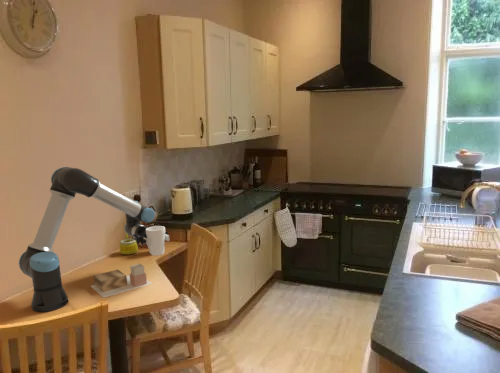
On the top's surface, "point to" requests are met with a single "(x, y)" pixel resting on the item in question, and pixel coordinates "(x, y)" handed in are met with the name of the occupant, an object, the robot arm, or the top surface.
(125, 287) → the white board
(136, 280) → the terracotta tower
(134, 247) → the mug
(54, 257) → the robot arm
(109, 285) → the oak plinth
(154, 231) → the foam cup
